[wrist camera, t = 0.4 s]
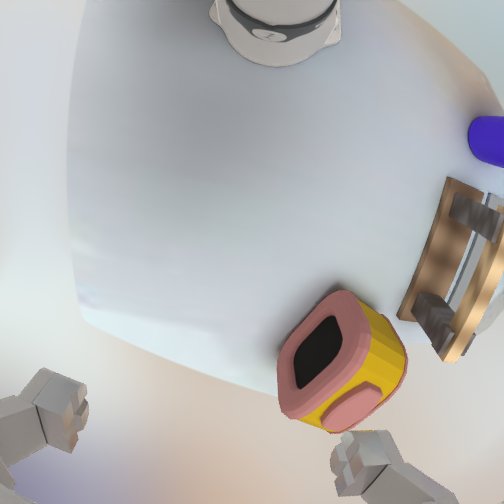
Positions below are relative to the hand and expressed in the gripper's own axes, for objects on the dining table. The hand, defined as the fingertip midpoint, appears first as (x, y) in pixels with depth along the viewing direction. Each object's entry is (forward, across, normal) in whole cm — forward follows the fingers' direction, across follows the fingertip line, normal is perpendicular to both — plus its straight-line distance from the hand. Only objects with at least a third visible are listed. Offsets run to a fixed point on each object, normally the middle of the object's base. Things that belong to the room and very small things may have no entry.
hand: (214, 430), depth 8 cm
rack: (+38, -35, -2) cm, 52 cm away
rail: (+27, -35, -1) cm, 44 cm away
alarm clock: (+41, -20, +16) cm, 48 cm away
